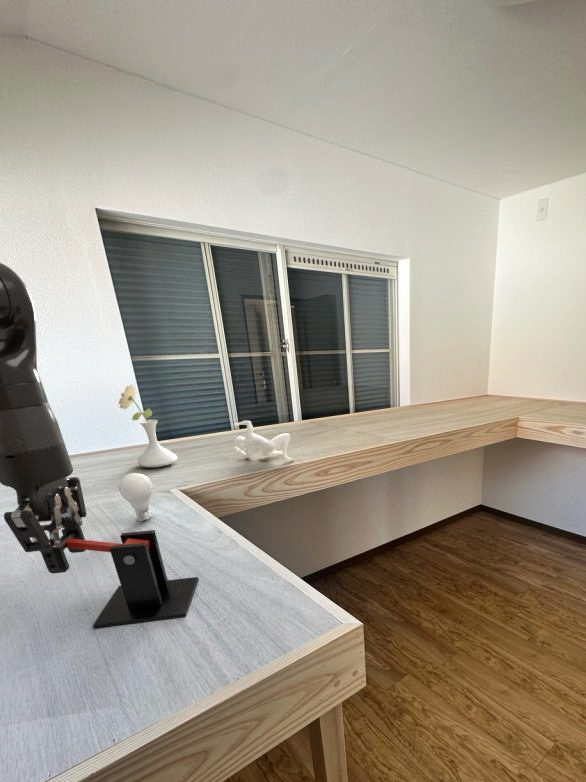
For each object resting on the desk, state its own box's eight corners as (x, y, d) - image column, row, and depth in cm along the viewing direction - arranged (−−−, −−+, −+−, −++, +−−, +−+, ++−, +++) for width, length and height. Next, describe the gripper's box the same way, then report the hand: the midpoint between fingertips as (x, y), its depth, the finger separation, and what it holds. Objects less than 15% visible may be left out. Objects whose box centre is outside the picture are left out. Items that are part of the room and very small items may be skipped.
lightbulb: (138, 528, 89) (125, 480, 85) (122, 522, 92) (109, 475, 88) (166, 518, 94) (155, 472, 89) (150, 512, 97) (138, 467, 93)
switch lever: (48, 558, 55) (47, 542, 54) (66, 541, 60) (65, 526, 59) (141, 567, 58) (141, 552, 57) (151, 550, 63) (152, 536, 62)
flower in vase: (159, 458, 138) (140, 380, 128) (186, 461, 135) (169, 381, 124) (125, 470, 127) (101, 385, 117) (153, 473, 123) (132, 386, 113)
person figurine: (290, 421, 139) (233, 416, 131) (298, 437, 129) (237, 433, 122) (285, 456, 146) (231, 453, 138) (292, 473, 136) (235, 472, 128)
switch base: (95, 634, 58) (69, 561, 53) (121, 593, 67) (100, 528, 62) (186, 622, 60) (169, 551, 56) (199, 584, 69) (185, 520, 65)
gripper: (24, 431, 57) (64, 540, 64) (-52, 461, 44) (8, 593, 51) (84, 428, 59) (117, 535, 65) (27, 456, 46) (76, 585, 53)
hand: (69, 560), depth 58 cm, fingers closed on switch lever, 5 cm apart
